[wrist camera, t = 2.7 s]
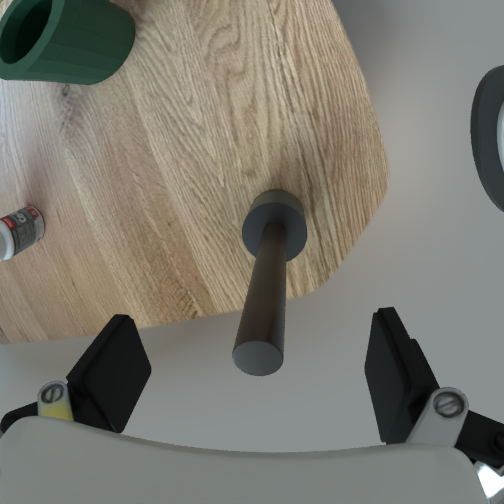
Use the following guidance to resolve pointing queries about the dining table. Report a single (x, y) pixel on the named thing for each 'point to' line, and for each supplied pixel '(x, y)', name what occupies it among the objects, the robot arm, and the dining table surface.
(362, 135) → the dining table surface
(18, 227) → the pill bottle
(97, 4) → the green pencil cup
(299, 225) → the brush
